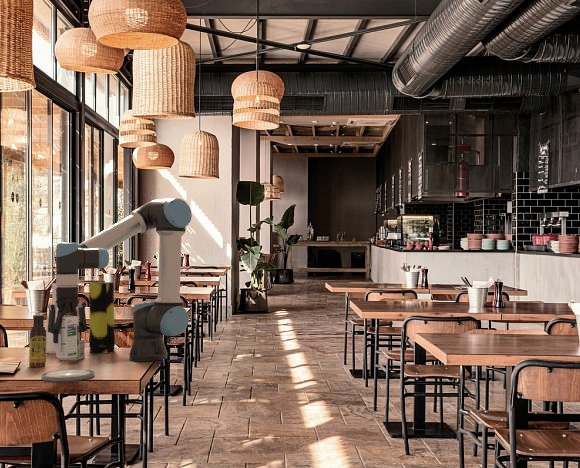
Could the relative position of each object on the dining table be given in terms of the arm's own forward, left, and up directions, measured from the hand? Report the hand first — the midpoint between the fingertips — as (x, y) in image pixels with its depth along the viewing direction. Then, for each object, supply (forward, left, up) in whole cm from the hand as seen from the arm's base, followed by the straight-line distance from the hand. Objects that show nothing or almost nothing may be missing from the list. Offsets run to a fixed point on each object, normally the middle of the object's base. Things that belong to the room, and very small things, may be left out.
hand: (67, 351), depth 270 cm
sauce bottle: (+19, -25, -9) cm, 33 cm away
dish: (0, 0, -9) cm, 9 cm away
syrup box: (0, 0, -2) cm, 2 cm away
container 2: (+3, -61, -9) cm, 62 cm away
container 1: (+11, -43, -9) cm, 45 cm away
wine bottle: (+23, -62, -9) cm, 67 cm away
